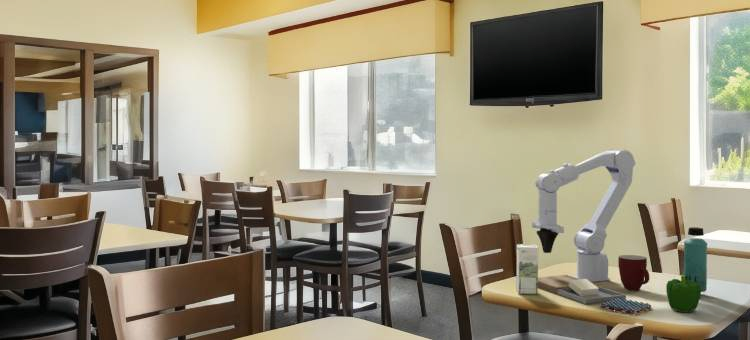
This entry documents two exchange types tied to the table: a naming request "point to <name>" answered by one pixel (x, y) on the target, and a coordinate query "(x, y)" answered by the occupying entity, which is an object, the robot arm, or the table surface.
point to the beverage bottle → (695, 258)
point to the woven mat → (625, 306)
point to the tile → (583, 287)
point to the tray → (591, 296)
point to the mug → (633, 271)
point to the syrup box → (527, 269)
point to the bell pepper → (683, 294)
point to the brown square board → (555, 282)
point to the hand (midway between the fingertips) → (547, 252)
